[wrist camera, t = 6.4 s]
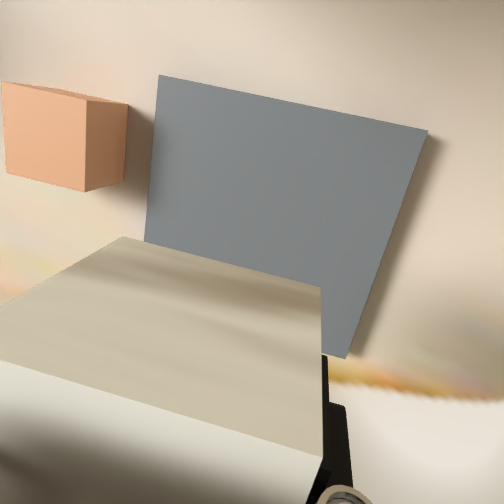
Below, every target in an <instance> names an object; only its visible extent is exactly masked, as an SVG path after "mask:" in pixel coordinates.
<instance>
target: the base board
mask: <svg viewBox="0 0 504 504" xmlns="http://www.w3.org/2000/svg"><path fill="white" fill-rule="evenodd" d="M427 132H428V131H427V130H422V129H417V128H413V127H408V126H403V125H398V124H393V123H389V122H384V121H379V120H374V119H369V118H365V117H360V116H355V115H350V114H345V113H341V112H336V111H331V110H326V109H321V108H317V107H312V106H307V105H302V104H298V103H293V102H288V101H283V100H278V99H274V98H269V97H264V96H259V95H254V94H250V93H245V92H240V91H235V90H230V89H226V88H221V87H216V86H211V85H206V84H202V83H197V82H192V81H187V80H182V79H178V78H173V77H168V76H163V75H159V78H158V89H157V101H156V112H155V123H154V134H153V145H152V157H151V168H150V179H149V190H148V202H147V213H146V224H145V235H144V242H147V243H150V244H154V245H158V246H162V247H166V248H170V249H174V250H178V251H181V252H185V253H189V254H193V255H197V256H201V257H205V258H209V259H212V260H216V261H220V262H224V263H228V264H232V265H236V266H240V267H243V268H247V269H251V270H255V271H259V272H263V273H267V274H271V275H274V276H278V277H282V278H286V279H290V280H294V281H298V282H302V283H305V284H309V285H313V286H317V287H321V353H324V354H328V355H332V356H335V357H339V358H343V359H346V356H347V353H348V351H349V348H350V345H351V342H352V339H353V337H354V334H355V331H356V328H357V326H358V323H359V320H360V317H361V315H362V312H363V309H364V306H365V304H366V301H367V298H368V295H369V293H370V290H371V287H372V284H373V281H374V279H375V276H376V273H377V270H378V268H379V265H380V262H381V259H382V257H383V254H384V251H385V248H386V246H387V243H388V240H389V237H390V235H391V232H392V229H393V226H394V224H395V221H396V218H397V215H398V212H399V210H400V207H401V204H402V201H403V199H404V196H405V193H406V190H407V188H408V185H409V182H410V179H411V177H412V174H413V171H414V168H415V166H416V163H417V160H418V157H419V155H420V152H421V149H422V146H423V143H424V141H425V138H426V135H427Z"/></svg>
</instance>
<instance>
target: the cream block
mask: <svg viewBox="0 0 504 504" xmlns="http://www.w3.org/2000/svg"><path fill="white" fill-rule="evenodd" d="M322 459H323V427H322V357H321V287H317V286H313V285H309V284H305V283H302V282H298V281H294V280H290V279H286V278H282V277H278V276H274V275H271V274H267V273H263V272H259V271H255V270H251V269H247V268H243V267H240V266H236V265H232V264H228V263H224V262H220V261H216V260H212V259H209V258H205V257H201V256H197V255H193V254H189V253H185V252H181V251H178V250H174V249H170V248H166V247H162V246H158V245H154V244H150V243H147V242H143V241H139V240H135V239H131V238H127V237H121V238H119V239H117V240H116V241H114V242H112V243H110V244H109V245H107V246H105V247H103V248H102V249H100V250H98V251H96V252H95V253H93V254H91V255H89V256H88V257H86V258H84V259H82V260H81V261H79V262H77V263H75V264H74V265H72V266H70V267H68V268H67V269H65V270H63V271H61V272H60V273H58V274H56V275H54V276H53V277H51V278H49V279H47V280H46V281H44V282H42V283H40V284H39V285H37V286H35V287H33V288H32V289H30V290H28V291H26V292H25V293H23V294H21V295H19V296H18V297H16V298H14V299H12V300H11V301H9V302H7V303H5V304H4V305H2V306H0V504H305V503H306V501H307V498H308V495H309V493H310V490H311V488H312V485H313V482H314V480H315V477H316V474H317V472H318V469H319V467H320V464H321V461H322Z"/></svg>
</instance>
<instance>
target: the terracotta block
mask: <svg viewBox="0 0 504 504" xmlns="http://www.w3.org/2000/svg"><path fill="white" fill-rule="evenodd" d="M1 87H2V104H3V121H4V138H5V155H6V172H7V173H8V174H12V175H16V176H20V177H24V178H28V179H33V180H37V181H41V182H45V183H49V184H53V185H57V186H61V187H65V188H69V189H73V190H77V191H81V192H87V191H91V190H94V189H97V188H101V187H104V186H108V185H111V184H114V183H118V182H121V181H123V180H124V164H125V148H126V132H127V116H128V104H124V103H119V102H115V101H110V100H106V99H101V98H96V97H92V96H87V95H83V94H78V93H74V92H69V91H65V90H60V89H54V88H47V87H39V86H32V85H24V84H17V83H9V82H2V81H1Z"/></svg>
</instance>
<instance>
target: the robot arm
mask: <svg viewBox="0 0 504 504" xmlns="http://www.w3.org/2000/svg"><path fill="white" fill-rule="evenodd" d="M321 357H322V427H323V459H322V461H321V464H320V467H319V469H318V472H317V474H316V477H315V480H314V482H313V485H312V488H311V490H310V493H309V495H308V498H307V501H306V503H305V504H372V502H371V501H370V500H369V499H368V498H367V497H366V496H364V495H363V494H362V493H361V492H359V491H357V490H356V489H354V488H353V480H352V470H351V460H350V449H349V439H348V428H347V418H346V410H345V407H344V406H342V405H339V404H335V403H332V402H329V384H328V359H327V356H325V355H321Z"/></svg>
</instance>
